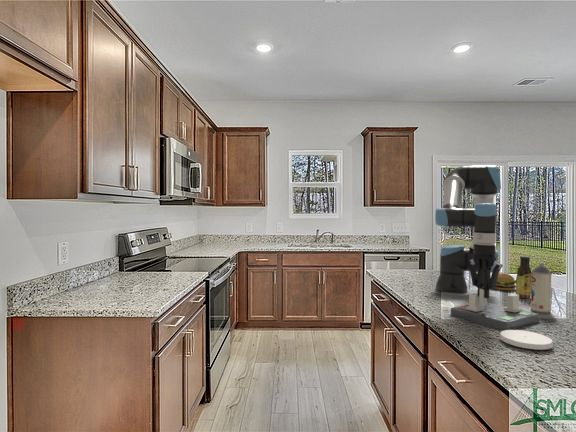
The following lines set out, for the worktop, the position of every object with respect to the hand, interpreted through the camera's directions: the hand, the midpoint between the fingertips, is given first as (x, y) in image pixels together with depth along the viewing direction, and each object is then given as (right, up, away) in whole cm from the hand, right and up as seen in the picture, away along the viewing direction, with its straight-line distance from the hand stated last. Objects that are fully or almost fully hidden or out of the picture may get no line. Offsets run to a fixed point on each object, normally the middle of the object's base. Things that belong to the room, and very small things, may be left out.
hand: (483, 305), depth 146 cm
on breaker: (+13, -2, +2) cm, 13 cm away
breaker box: (+5, -6, +2) cm, 8 cm away
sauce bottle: (+40, -6, +40) cm, 56 cm away
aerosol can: (+31, -6, +14) cm, 35 cm away
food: (+41, -5, +60) cm, 73 cm away
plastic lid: (0, -7, -25) cm, 26 cm away
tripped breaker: (-2, -2, +3) cm, 4 cm away
